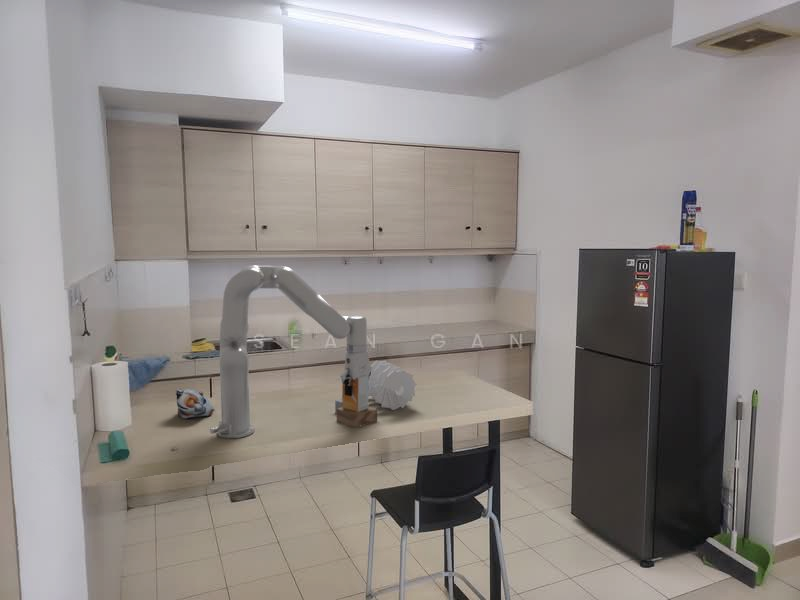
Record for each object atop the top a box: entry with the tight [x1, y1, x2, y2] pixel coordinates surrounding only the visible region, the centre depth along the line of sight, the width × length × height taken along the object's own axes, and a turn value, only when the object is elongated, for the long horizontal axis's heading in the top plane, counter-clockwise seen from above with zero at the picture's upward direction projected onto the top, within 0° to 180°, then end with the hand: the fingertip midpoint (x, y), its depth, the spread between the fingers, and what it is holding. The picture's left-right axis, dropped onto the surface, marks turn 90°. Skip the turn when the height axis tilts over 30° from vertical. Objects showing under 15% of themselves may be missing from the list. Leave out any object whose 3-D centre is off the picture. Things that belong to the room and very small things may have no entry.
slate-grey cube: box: [334, 398, 342, 414], centre depth 217 cm, size 5×5×5 cm
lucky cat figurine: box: [175, 388, 216, 420], centre depth 210 cm, size 15×12×14 cm
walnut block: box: [336, 405, 378, 428], centre depth 207 cm, size 11×11×5 cm
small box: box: [341, 375, 369, 412], centre depth 207 cm, size 8×6×13 cm
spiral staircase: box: [368, 360, 417, 411], centre depth 228 cm, size 18×18×25 cm
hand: (356, 392), depth 207 cm, fingers open, 9 cm apart
